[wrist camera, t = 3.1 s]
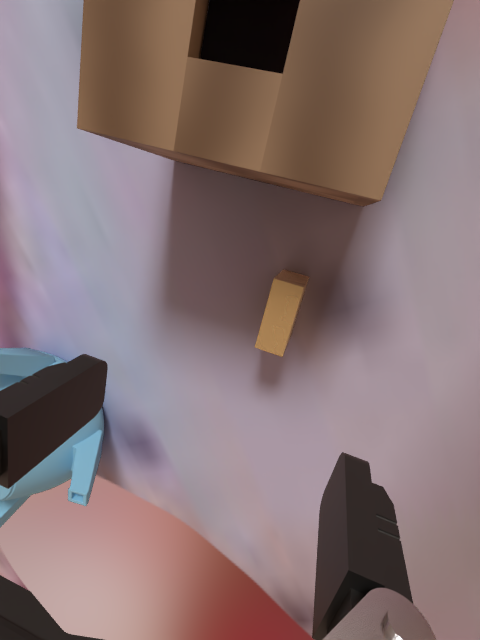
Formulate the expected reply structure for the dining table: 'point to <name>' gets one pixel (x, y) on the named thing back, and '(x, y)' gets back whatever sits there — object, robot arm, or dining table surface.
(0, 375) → the teapot
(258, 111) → the box
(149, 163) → the dining table surface
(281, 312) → the wooden block
